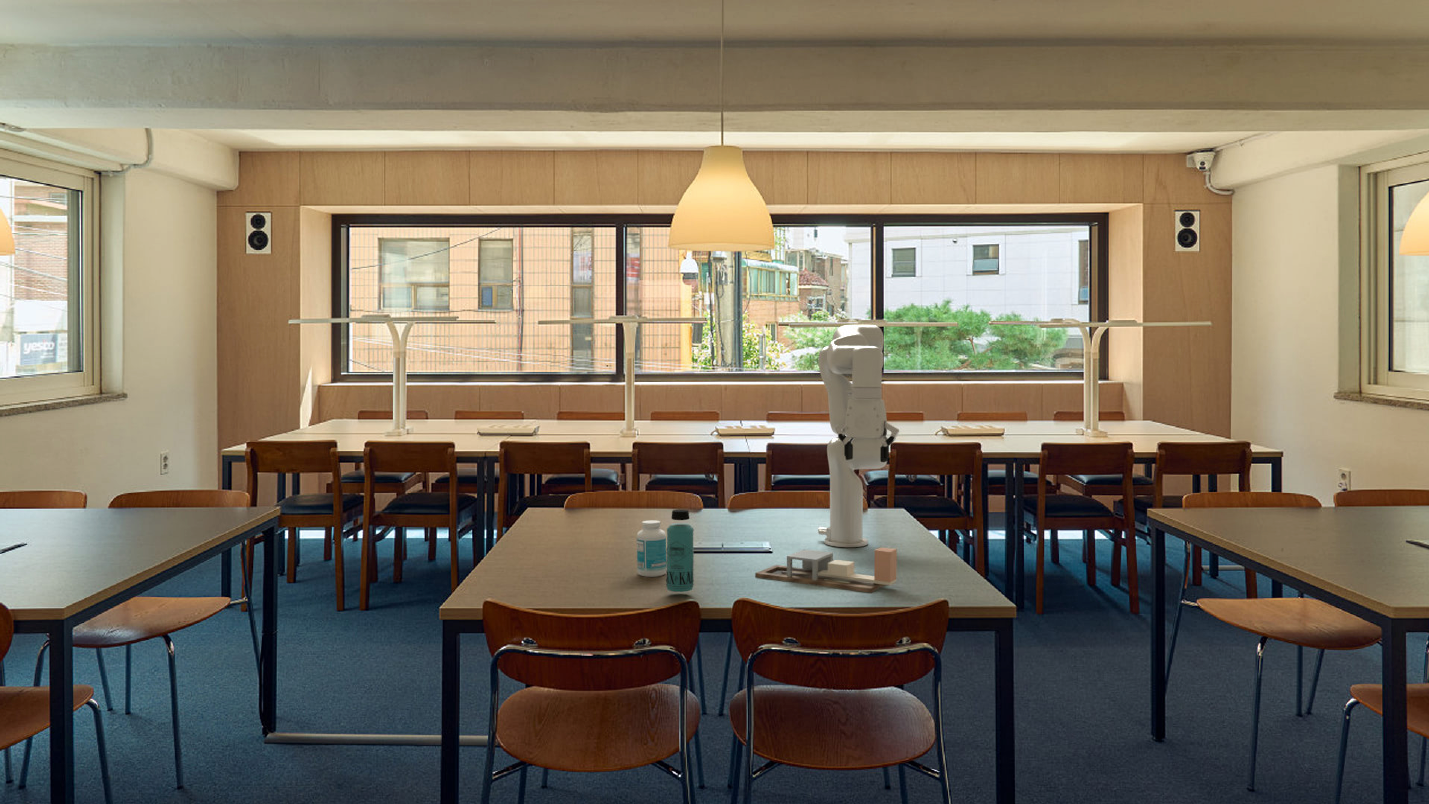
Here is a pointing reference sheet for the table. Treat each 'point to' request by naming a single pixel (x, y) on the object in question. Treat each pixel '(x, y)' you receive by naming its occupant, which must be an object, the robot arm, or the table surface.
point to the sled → (882, 575)
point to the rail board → (806, 578)
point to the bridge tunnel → (810, 561)
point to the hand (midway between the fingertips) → (866, 460)
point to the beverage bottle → (680, 554)
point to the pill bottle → (651, 550)
